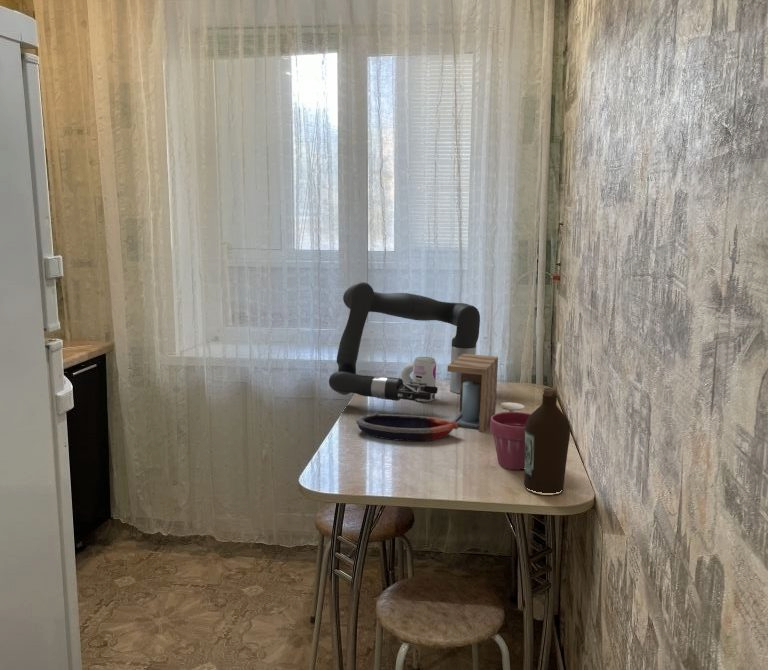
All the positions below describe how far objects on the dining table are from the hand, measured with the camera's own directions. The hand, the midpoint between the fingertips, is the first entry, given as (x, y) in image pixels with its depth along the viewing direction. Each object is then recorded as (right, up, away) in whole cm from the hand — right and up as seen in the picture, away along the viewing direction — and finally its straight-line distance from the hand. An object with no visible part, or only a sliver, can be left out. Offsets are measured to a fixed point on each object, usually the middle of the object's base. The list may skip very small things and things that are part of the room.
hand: (433, 393), depth 225 cm
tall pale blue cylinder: (+12, -8, -3) cm, 14 cm away
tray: (+12, -9, -3) cm, 15 cm away
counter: (+12, -9, -2) cm, 15 cm away
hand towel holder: (+26, -10, -3) cm, 28 cm away
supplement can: (-2, -4, +23) cm, 23 cm away
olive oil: (+23, -19, -56) cm, 64 cm away
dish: (-10, -11, -17) cm, 23 cm away
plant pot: (+19, -16, -40) cm, 47 cm away
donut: (-5, -2, +39) cm, 39 cm away
